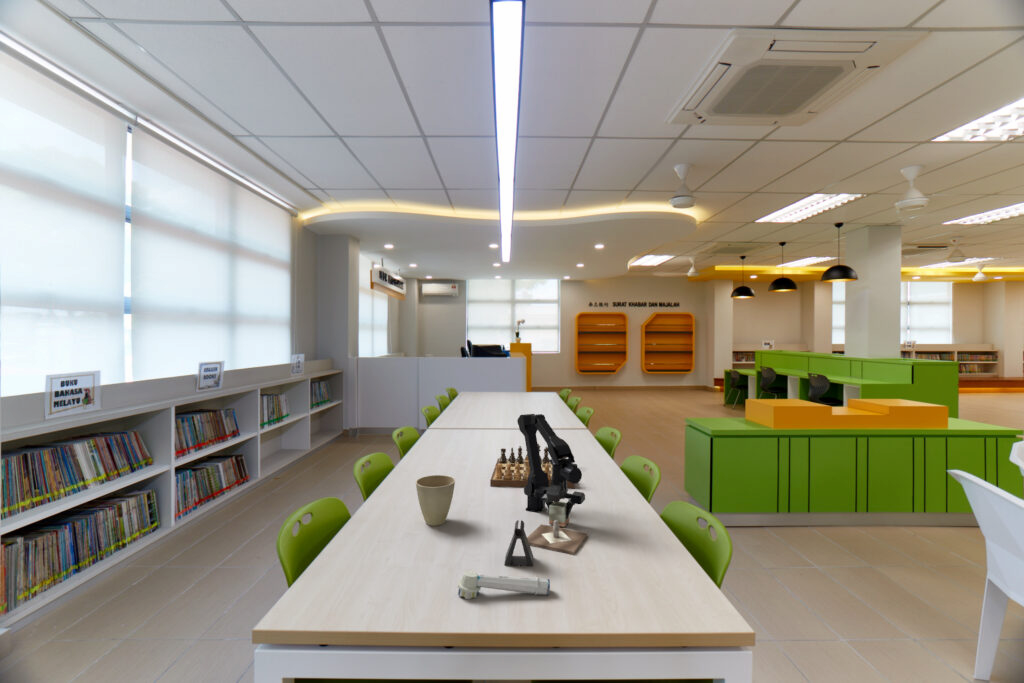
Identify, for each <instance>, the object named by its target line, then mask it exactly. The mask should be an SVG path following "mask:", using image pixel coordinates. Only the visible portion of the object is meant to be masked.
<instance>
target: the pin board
mask: <svg viewBox="0 0 1024 683" xmlns="http://www.w3.org/2000/svg"><path fill="white" fill-rule="evenodd" d="M588 536H589V534H588V532H583V531H577V530H572V529H568V528H564V527H562V528H561V527H560V526H559V521H558V520H555V521H554V525H546V524H542V523H541V524H540V525H539V526H538V527H537V528H536V529H535V530H533V532H532V533H530V534H529V535H528V536H527V539H528V542H529V545H530V547H535V548H541V549H545V550H551V551H555V552H559V553H563V554H569V555H573V556H574V555H575V554H576V552H577V551H578V550H579V548H580V547H581V546H582V544H583V543H584V542H585V540H586V539H587V538H588Z"/></svg>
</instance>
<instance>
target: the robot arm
mask: <svg viewBox="0 0 1024 683" xmlns="http://www.w3.org/2000/svg"><path fill="white" fill-rule="evenodd" d="M516 422H517V425H518V428H519V432H520V433H521V434H522V435H523V436H524V441H525V448H526V449H525V450H527V451H526V455H528V461H529V467H530V473H529V475H528V478H527V479H528V484H527V485H526V486H525V487H523V493H524V495H526V496H527V502H526V505H527V507H526V508H525V510H526V511H529V512H530V511H531V512H534V513H542V512H543V511H544V510H545V509H546V507H547V510H548V511H549V505H550V504H552V503H553V502H559V501H560V502H561V500H565V499H567V500H568V501H566V505H567V511H566V519H568V517H569V518H570V514H571V512H572V508H573V507H574V506H575V505H582V504H583V503H584V502H585V500H586V494H585V493H584V492H582V491H576V490H575V491H574V492H572V493H568V491H569V489H568V488H567V481H569V482H571V483H573V484H575V485H576V484H578V483H579V482H580V481H581V480H582V477H583V473H582V471H581V469H580V468H579V467H578V464H576V463H575V462H576V461H575V456H574V454H573V453H572V450H571V447H570V445H569V443H568V442H566V441H565V440H564V439H562V438H561V437H559V436H558V435H557V433H556V432H555V430H554V429H553V428H552V426H550V423H549V422H548V421H547V420H546V416H545V414H542V413H539V414H535V413H527V414H519V417H518V418H517V421H516ZM537 433H539V434H540V435H541V437H542V438H543V440H544V441H545V443H546V445H547V450H548V455H549V456H550V459H549V462H551V463H552V480H551V485H550V487H549V480H548V474H547V473H545V472H544V471H543V470H542V467H541V461H540V456H541V455H539V454H540V452H539V450H538V444H539V443H538V438H537ZM551 458H552V459H551ZM563 458H566V459H563ZM560 459H561V460H560Z"/></svg>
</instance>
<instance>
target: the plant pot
mask: <svg viewBox="0 0 1024 683" xmlns="http://www.w3.org/2000/svg"><path fill="white" fill-rule="evenodd" d="M455 483H456V479H455V478H454V477H452V476H449V475H446V474H445V475H441V474H435V475H434V474H433V475H426V476H421V477H420V478H418V479H417V480H416V481H415V486H416V493H417V500H418V504H419V507H420V508H419V509H420V511H421V514H422V517H423V519H424V522H425V524H426V525H428V526H432V527H434V526H437V527H438V526H441V525H443V524H445V522H446V520H447V518H448V514H449V511H450V509H451V505H452V501H453V496H454V492H455V491H454V490H455V485H456V484H455Z"/></svg>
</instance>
